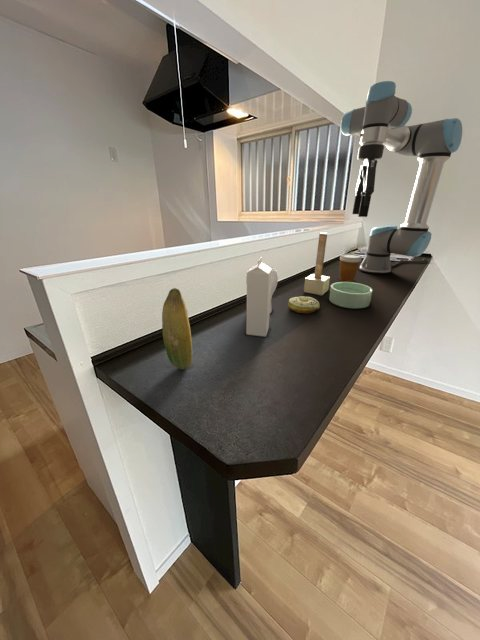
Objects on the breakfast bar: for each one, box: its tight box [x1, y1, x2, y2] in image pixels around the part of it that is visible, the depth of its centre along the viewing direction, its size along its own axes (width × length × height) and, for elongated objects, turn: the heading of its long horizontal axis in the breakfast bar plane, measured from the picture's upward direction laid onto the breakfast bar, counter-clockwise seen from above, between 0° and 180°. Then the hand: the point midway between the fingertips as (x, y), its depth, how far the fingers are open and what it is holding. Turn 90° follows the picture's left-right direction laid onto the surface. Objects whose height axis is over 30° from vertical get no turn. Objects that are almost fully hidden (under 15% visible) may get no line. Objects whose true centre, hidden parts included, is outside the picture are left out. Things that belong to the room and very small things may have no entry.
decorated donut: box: [288, 295, 320, 314], centre depth 95 cm, size 10×11×4 cm
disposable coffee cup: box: [339, 253, 362, 282], centre depth 125 cm, size 10×10×12 cm
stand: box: [303, 273, 331, 296], centre depth 112 cm, size 8×8×6 cm
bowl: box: [328, 281, 374, 309], centre depth 100 cm, size 15×15×6 cm
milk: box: [245, 256, 273, 338], centre depth 75 cm, size 6×6×22 cm
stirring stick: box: [314, 232, 328, 279], centre depth 108 cm, size 2×2×24 cm
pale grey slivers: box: [245, 266, 279, 314], centre depth 91 cm, size 11×11×15 cm
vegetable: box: [161, 287, 193, 370], centre depth 58 cm, size 6×6×20 cm
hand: (359, 215), depth 94 cm, fingers open, 13 cm apart
